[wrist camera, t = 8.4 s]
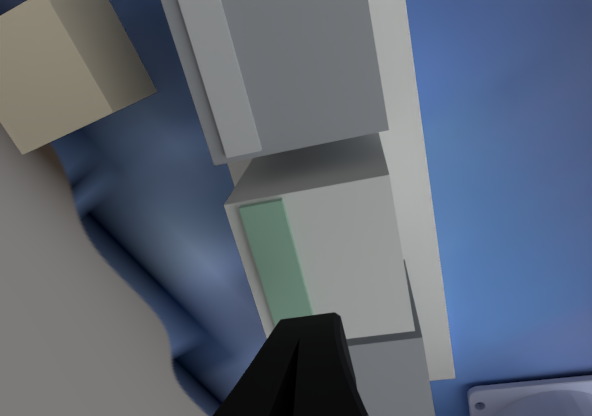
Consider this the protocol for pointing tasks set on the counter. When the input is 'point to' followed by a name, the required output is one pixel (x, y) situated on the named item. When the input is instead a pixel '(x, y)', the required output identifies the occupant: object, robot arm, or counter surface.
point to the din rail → (327, 128)
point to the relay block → (64, 69)
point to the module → (323, 237)
